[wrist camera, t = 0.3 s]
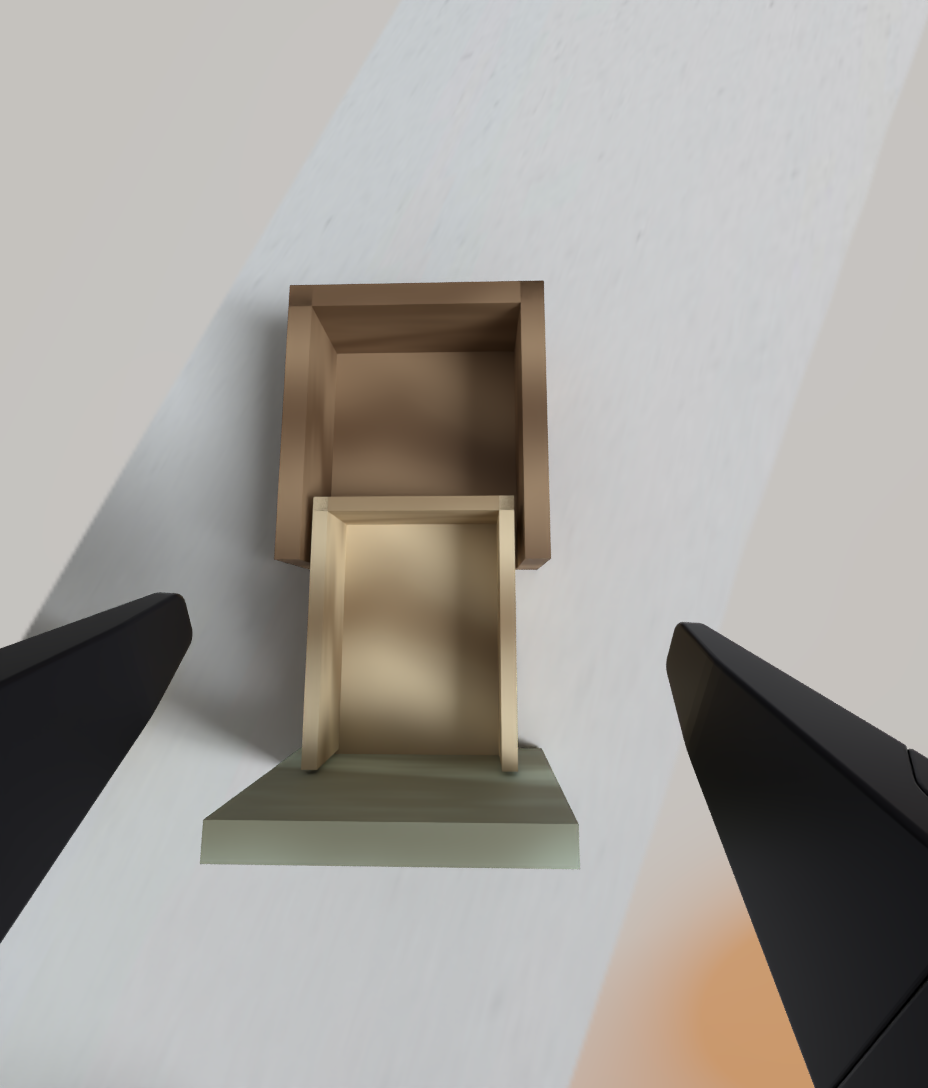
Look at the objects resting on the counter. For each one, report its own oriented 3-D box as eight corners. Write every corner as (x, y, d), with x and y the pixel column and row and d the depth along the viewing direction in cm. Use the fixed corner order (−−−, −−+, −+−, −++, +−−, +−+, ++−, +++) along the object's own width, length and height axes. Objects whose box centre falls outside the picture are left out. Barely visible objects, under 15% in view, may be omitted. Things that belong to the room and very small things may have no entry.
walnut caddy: (537, 569, 24) (550, 558, 19) (311, 570, 24) (274, 559, 20) (532, 339, 26) (543, 280, 21) (321, 342, 26) (289, 285, 22)
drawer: (542, 776, 22) (579, 869, 14) (301, 773, 23) (199, 864, 14) (536, 516, 24) (566, 463, 16) (313, 517, 24) (228, 466, 16)
